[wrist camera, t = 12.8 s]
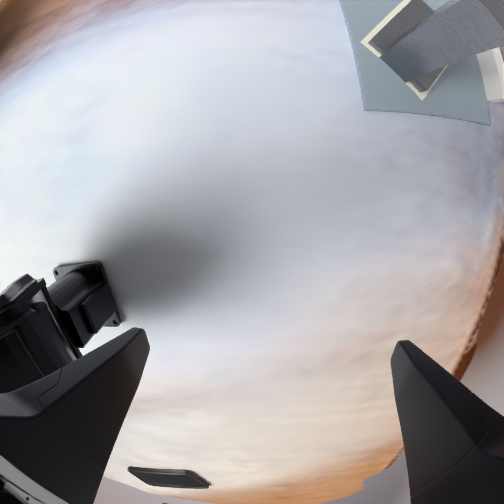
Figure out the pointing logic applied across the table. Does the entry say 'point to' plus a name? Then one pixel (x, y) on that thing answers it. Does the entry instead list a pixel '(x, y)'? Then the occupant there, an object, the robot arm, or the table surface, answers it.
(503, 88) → the walls
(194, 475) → the phone
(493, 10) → the bracket
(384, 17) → the mat
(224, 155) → the table surface
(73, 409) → the robot arm
